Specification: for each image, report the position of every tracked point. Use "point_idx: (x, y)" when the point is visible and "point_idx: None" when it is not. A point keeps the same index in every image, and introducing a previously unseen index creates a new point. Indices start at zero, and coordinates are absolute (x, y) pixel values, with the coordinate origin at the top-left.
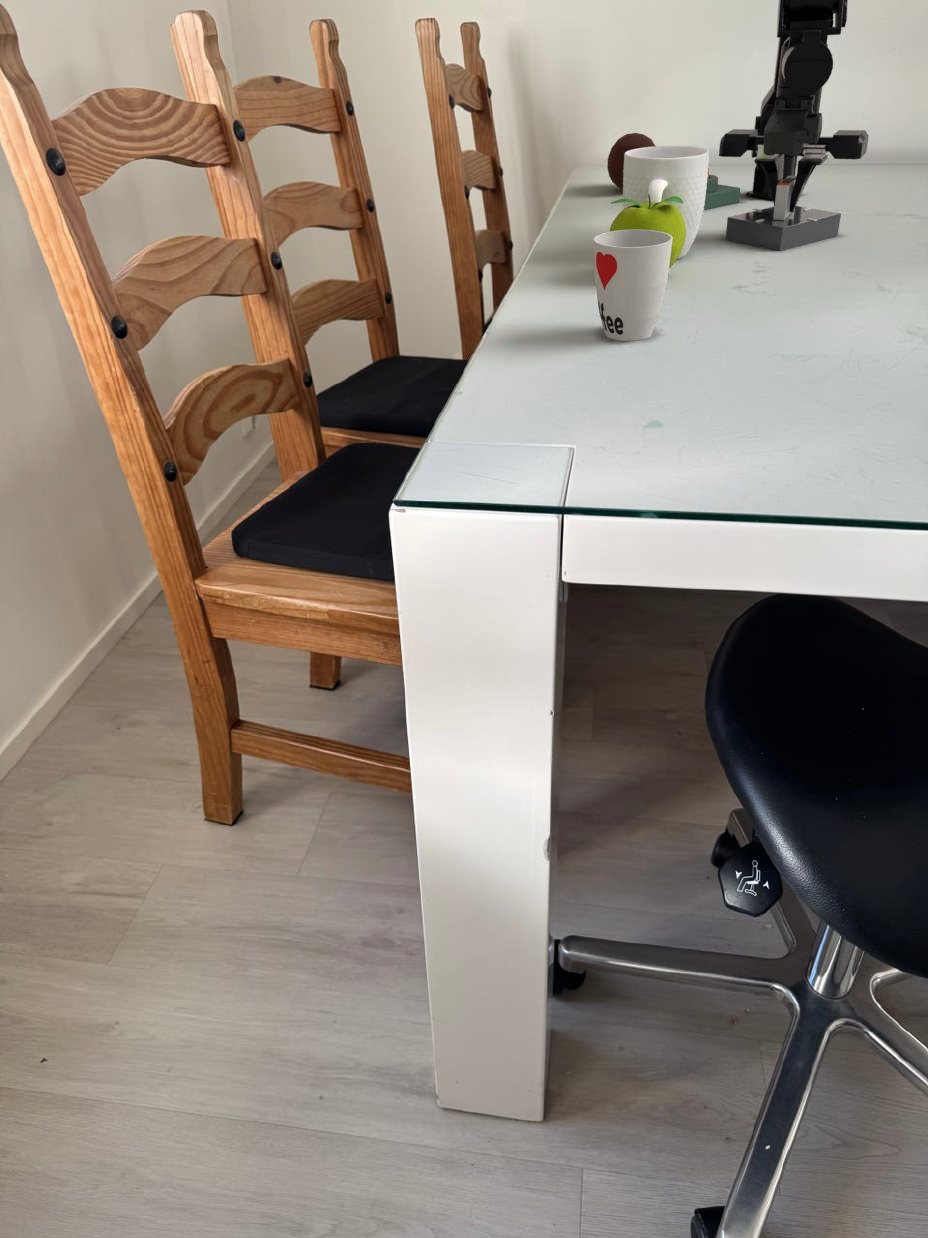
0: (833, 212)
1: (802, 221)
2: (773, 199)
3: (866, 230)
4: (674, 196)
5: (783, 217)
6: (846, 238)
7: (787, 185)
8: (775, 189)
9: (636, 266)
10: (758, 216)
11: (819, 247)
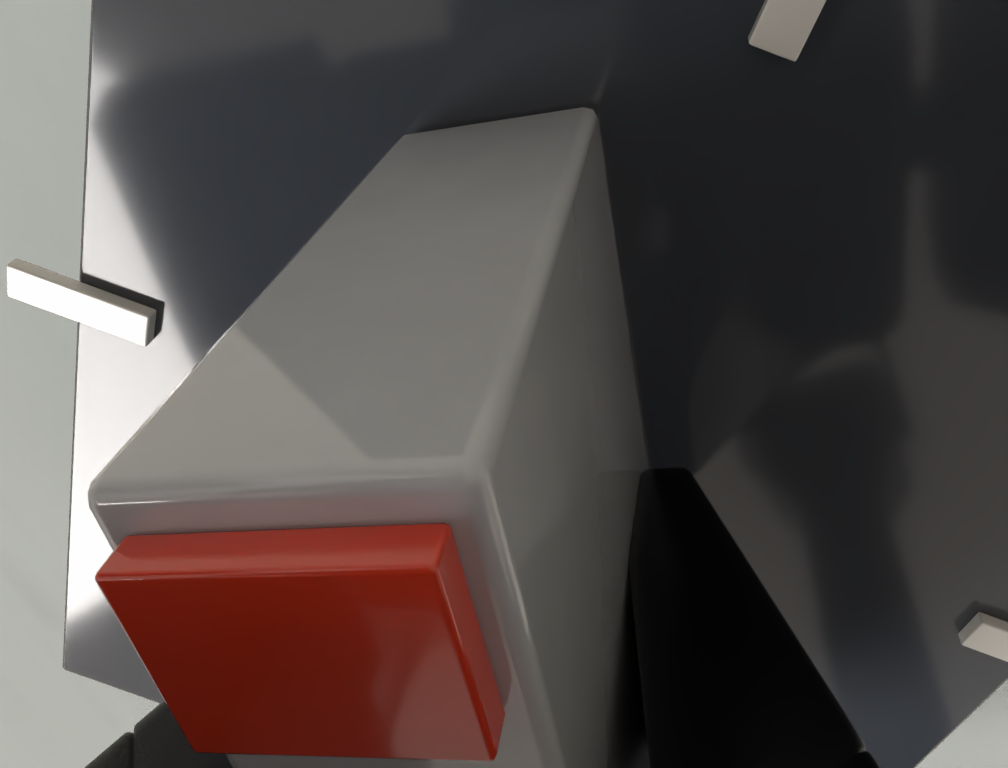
0: (145, 687)
1: (141, 177)
2: (735, 560)
3: (107, 693)
4: None
5: (409, 146)
6: (64, 460)
7: (117, 482)
8: (712, 700)
9: None
10: (934, 302)
11: (23, 35)
